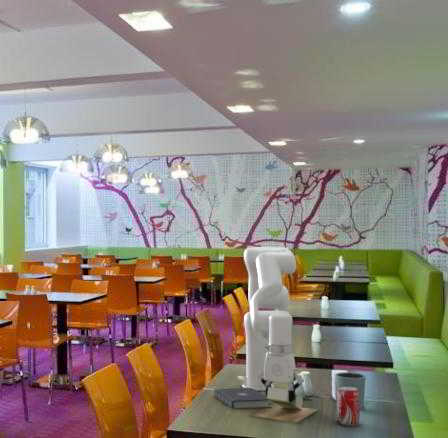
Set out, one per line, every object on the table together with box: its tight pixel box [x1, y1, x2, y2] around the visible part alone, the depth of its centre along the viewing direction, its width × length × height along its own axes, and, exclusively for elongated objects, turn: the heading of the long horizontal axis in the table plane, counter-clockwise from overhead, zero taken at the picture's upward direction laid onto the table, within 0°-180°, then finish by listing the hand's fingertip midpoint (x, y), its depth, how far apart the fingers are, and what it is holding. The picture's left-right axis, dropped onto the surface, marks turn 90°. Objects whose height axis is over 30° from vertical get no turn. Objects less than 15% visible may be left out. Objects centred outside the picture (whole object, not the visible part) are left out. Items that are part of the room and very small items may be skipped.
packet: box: [267, 387, 304, 410], centre depth 274 cm, size 7×16×4 cm, turn 143°
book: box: [213, 387, 272, 410], centre depth 291 cm, size 22×15×3 cm
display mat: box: [251, 403, 318, 423], centre depth 274 cm, size 16×22×1 cm
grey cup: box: [336, 371, 367, 411], centre depth 282 cm, size 10×10×12 cm
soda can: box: [336, 386, 360, 427], centre depth 260 cm, size 7×7×12 cm
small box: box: [331, 369, 349, 401], centre depth 296 cm, size 8×6×10 cm
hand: (280, 399), depth 271 cm, fingers closed on packet, 7 cm apart
